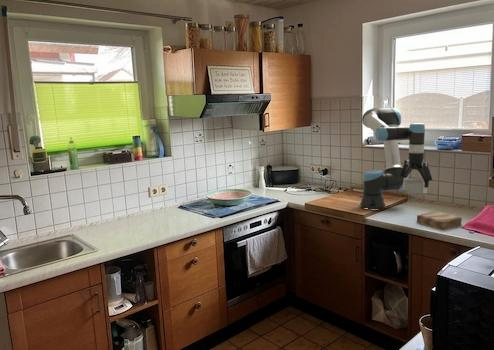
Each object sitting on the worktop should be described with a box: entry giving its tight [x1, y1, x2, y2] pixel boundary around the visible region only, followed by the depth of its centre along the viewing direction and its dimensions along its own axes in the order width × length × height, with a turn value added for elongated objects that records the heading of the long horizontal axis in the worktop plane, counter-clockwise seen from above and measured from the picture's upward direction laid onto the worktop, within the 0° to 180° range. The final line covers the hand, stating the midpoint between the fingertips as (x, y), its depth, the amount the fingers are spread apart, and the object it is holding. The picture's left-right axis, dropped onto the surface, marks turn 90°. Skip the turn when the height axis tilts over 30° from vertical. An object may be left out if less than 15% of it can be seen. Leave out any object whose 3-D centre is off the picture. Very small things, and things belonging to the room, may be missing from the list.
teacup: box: [404, 178, 424, 197], centre depth 226 cm, size 14×11×8 cm
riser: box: [416, 210, 463, 231], centre depth 224 cm, size 16×15×4 cm
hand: (414, 191), depth 226 cm, fingers closed on teacup, 12 cm apart
